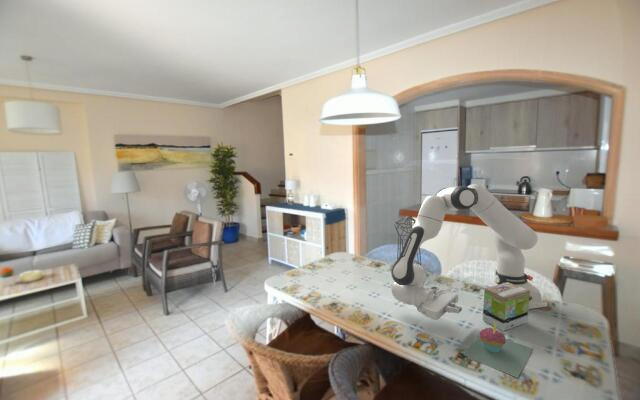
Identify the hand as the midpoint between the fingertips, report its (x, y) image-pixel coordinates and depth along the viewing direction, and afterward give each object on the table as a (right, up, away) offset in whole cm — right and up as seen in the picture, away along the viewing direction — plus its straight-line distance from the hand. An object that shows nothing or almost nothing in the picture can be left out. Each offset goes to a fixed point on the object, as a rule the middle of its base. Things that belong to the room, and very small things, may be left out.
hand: (460, 310), depth 116 cm
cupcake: (+8, -12, -7) cm, 16 cm away
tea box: (+24, -9, +10) cm, 27 cm away
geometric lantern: (0, -1, +68) cm, 68 cm away
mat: (+8, -12, -8) cm, 16 cm away
